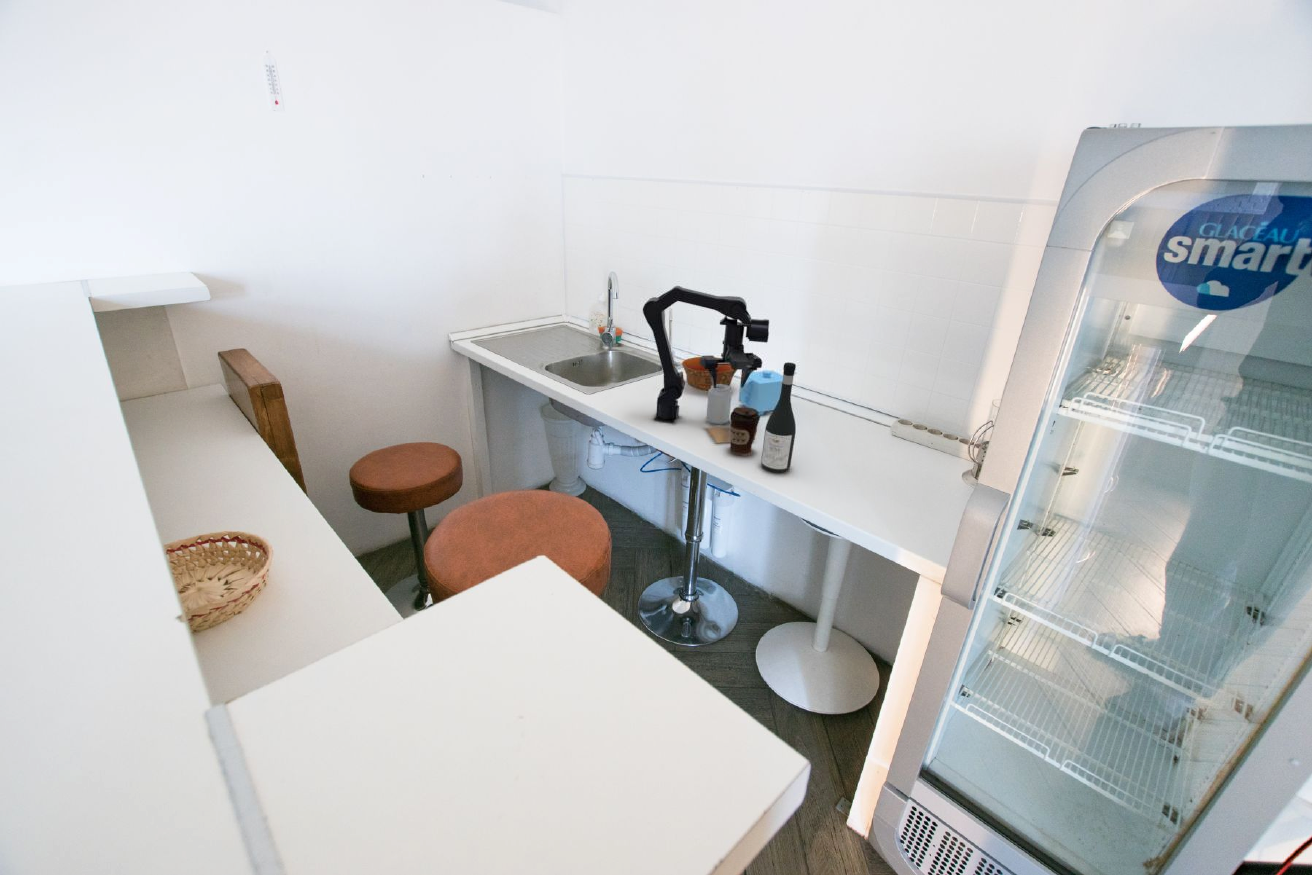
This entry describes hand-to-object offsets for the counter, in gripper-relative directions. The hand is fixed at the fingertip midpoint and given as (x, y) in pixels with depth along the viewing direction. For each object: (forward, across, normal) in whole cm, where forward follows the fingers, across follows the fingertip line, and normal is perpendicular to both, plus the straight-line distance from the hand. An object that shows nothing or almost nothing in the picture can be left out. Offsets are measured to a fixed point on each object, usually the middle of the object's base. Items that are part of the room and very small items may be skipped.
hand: (728, 387), depth 183 cm
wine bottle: (+12, +4, -32) cm, 34 cm away
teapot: (+12, +20, +11) cm, 26 cm away
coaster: (+12, -2, -9) cm, 15 cm away
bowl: (+13, +6, +34) cm, 36 cm away
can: (+13, -2, +2) cm, 13 cm away
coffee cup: (+13, -2, -21) cm, 24 cm away
